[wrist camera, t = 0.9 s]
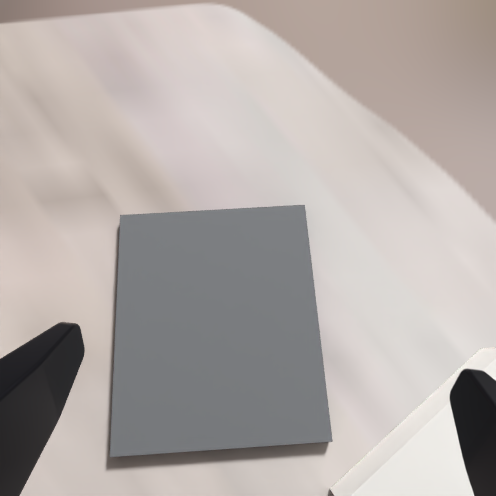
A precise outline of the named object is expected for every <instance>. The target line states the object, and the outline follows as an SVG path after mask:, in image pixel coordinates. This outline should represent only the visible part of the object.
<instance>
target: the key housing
mask: <svg viewBox="0 0 496 496" xmlns="http://www.w3.org/2000/svg"><path fill="white" fill-rule="evenodd" d="M466 368H468V369H476V370H482V371H484V372H486V373H487V374H488V375H490V376H491V377H492V378H493V379H494V380H496V347H490V348H480V349H479V350H478V351H477V352H476V353H475V354H474V355H473V356H472V357H471V358H470V359H469V360H468V361H466V362H465V363H464V364H463V365H462V366H461V367H460V368H459V369H458V370H457V371H456V372H455V373H454V374H453V375H451V376H450V377H449V378H448V379H447V380H446V381H445V382H444V383H443V384H442V385H441V386H440V387H439V388H437V389H436V390H435V391H434V392H433V393H432V394H431V395H430V396H429V397H428V398H427V399H426V400H425V401H424V402H422V403H421V404H420V405H419V406H418V407H417V408H416V409H415V410H414V411H413V412H412V413H411V414H410V415H408V416H407V417H406V418H405V419H404V420H403V421H402V422H401V423H400V424H399V425H398V426H397V427H396V428H395V429H393V430H392V431H391V432H390V433H389V434H388V435H387V436H386V437H385V438H384V439H383V440H382V441H381V442H379V443H378V444H377V445H376V446H375V447H374V448H373V449H372V450H371V451H370V452H369V453H368V454H367V455H366V456H364V457H363V458H362V459H361V460H360V461H359V462H358V463H357V464H356V465H355V466H354V467H353V468H352V469H350V470H349V471H348V472H347V473H346V474H345V475H344V476H343V477H342V478H341V479H340V480H339V481H338V482H337V483H335V484H334V485H333V486H332V487H331V488H330V490H331V491H332V493H333V494H334V496H474V493H473V490H472V487H471V484H470V481H469V478H468V475H467V472H466V469H465V465H464V461H463V457H462V453H461V448H460V444H459V440H458V435H457V431H456V426H455V422H454V418H453V413H452V409H451V404H450V391H451V389H452V387H453V385H454V383H455V381H456V380H457V378H458V376H459V374H460V372H461V371H462V370H463V369H466Z"/></svg>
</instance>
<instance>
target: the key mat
mask: <svg viewBox="0 0 496 496" xmlns="http://www.w3.org/2000/svg"><path fill="white" fill-rule="evenodd" d="M318 442H332V433H331V425H330V416H329V408H328V399H327V391H326V382H325V374H324V365H323V357H322V348H321V340H320V331H319V323H318V314H317V306H316V297H315V289H314V280H313V272H312V263H311V255H310V246H309V238H308V229H307V221H306V212H305V205H293V206H275V207H257V208H239V209H222V210H204V211H186V212H168V213H150V214H133V215H120V234H119V257H118V280H117V303H116V326H115V349H114V372H113V395H112V418H111V441H110V457H119V456H133V455H147V454H162V453H176V452H190V451H204V450H219V449H233V448H247V447H261V446H276V445H290V444H304V443H318Z"/></svg>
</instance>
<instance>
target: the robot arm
mask: <svg viewBox="0 0 496 496" xmlns="http://www.w3.org/2000/svg"><path fill="white" fill-rule="evenodd" d="M83 357H84V343H83V339H82V334H81V329H80V326H79V325H78V324H75V323H67V322H61V323H58V324H56V325H55V326H53V327H51V328H50V329H48V330H46V331H45V332H43V333H42V334H40V335H38V336H37V337H35V338H33V339H32V340H30V341H29V342H27V343H25V344H24V345H22V346H20V347H19V348H17V349H16V350H14V351H12V352H11V353H9V354H7V355H6V356H4V357H3V358H1V359H0V496H19V495H20V494H21V492H22V490H23V488H24V486H25V484H26V482H27V480H28V478H29V476H30V474H31V472H32V470H33V468H34V467H35V465H36V463H37V461H38V459H39V457H40V455H41V453H42V451H43V449H44V447H45V445H46V443H47V442H48V440H49V438H50V436H51V434H52V432H53V430H54V428H55V426H56V424H57V422H58V420H59V418H60V415H61V413H62V411H63V408H64V406H65V403H66V400H67V398H68V395H69V393H70V390H71V388H72V385H73V383H74V380H75V378H76V375H77V372H78V370H79V367H80V365H81V362H82V360H83ZM450 404H451V409H452V413H453V418H454V422H455V426H456V431H457V435H458V440H459V444H460V448H461V453H462V457H463V461H464V465H465V469H466V472H467V475H468V478H469V481H470V484H471V487H472V490H473V493H474V496H496V380H494V379H493V378H492V377H491V376H490V375H488V374H487V373H486V372H484V371H482V370H476V369H468V368H466V369H463V370H462V371H461V372H460V374H459V376H458V378H457V380H456V381H455V383H454V385H453V387H452V389H451V391H450Z"/></svg>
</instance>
